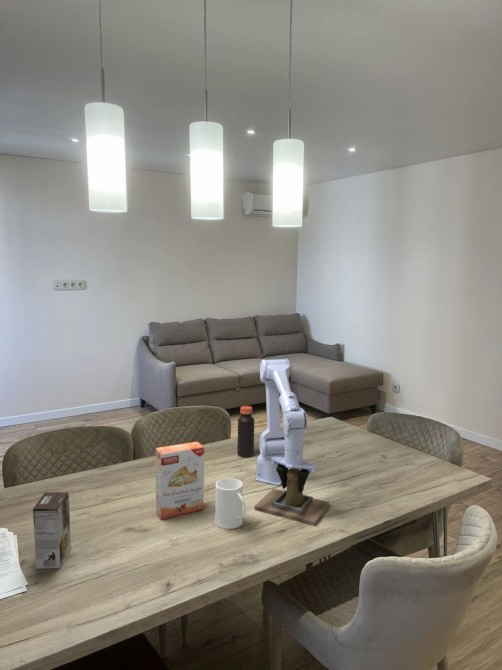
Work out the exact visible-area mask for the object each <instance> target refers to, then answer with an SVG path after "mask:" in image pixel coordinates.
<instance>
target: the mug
mask: <svg viewBox="0 0 502 670" xmlns="http://www.w3.org/2000/svg"><path fill="white" fill-rule="evenodd" d="M243 489H244V488H243V482H242V481H241V480H240V479H237V478H233V477H226V478H221V479H219V480H217V481H216V482H215V500H214V501H215V503H214V504H215V505H214V506H215V508H214V509H215V511H214V512H215V515H214V525H215V526H217V528H220V529H224V530H233V529H237V528H239V527H241V526H242V525H243V524H244V519H243V518H244V517H245V515H246V511H247V508H246V506H247V505H246V502H245V499H244V498H243Z"/></svg>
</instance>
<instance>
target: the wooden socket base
mask: <svg viewBox="0 0 502 670" xmlns="http://www.w3.org/2000/svg"><path fill="white" fill-rule="evenodd" d="M286 491H287V489H286V490H285V489H283V490H280V489H276V488H272V489H270V491H269V492H268V493H266V495H265V496H264V497H262V498H261V500H259V501H258V502H257V503H256V504H255V505H254V511H258V512H262V513H266V514H268V515H269V514H270V515H273V516H276V517H280V518H283V519H288V520H291V521H295V522H299V523H302V524H306V525H310V526H313V527H315V526H316V524H317V523H318V522H319V520H320V519H321V518H322V516H323V515H324V513H326V511H327V510H328V508H329V507H330V501H325V500H321V499H318V498H314V497H313V496H310V495H306V494H303V499H304V504H303V505H302V506H299V507H292V506H288V505H286V504H285V499H286Z"/></svg>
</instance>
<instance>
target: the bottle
mask: <svg viewBox="0 0 502 670" xmlns="http://www.w3.org/2000/svg"><path fill="white" fill-rule="evenodd" d="M239 409H240V410H239V412H240V413H239V414H240V416H239V417H238V419H237V456H239V457H240V456H241V457H240V458H251V457H253V456H254V455H255V418H254V417H253V416H252V415H253V407H252V406H250V405H242V406H241V407H240V408H239Z"/></svg>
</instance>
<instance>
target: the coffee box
mask: <svg viewBox="0 0 502 670" xmlns="http://www.w3.org/2000/svg"><path fill="white" fill-rule="evenodd" d="M69 495H70V494H69V491H65V492H64V491H63V492H62V491H46V492H44V493H43V494H42V495H41V497H40V498H39V500H38V501H37V502H36V504H35V505H34V507H33V508H32V512H33V513H32V515H33V518H32V519H33V534H34V535H33V537H34V538H33V539H34V555H35V557H34V559H35V569H38V570H39V569H41V570H42V569H43V570H44V569H60V568H61V569H62V566H63V564H64V562H65V560H66V559H67V556H68V554H69V552H70V550H71V548H72V546H71V542H72V541H71V519H70V518H71V517H70V516H71V515H70V499H69Z"/></svg>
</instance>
